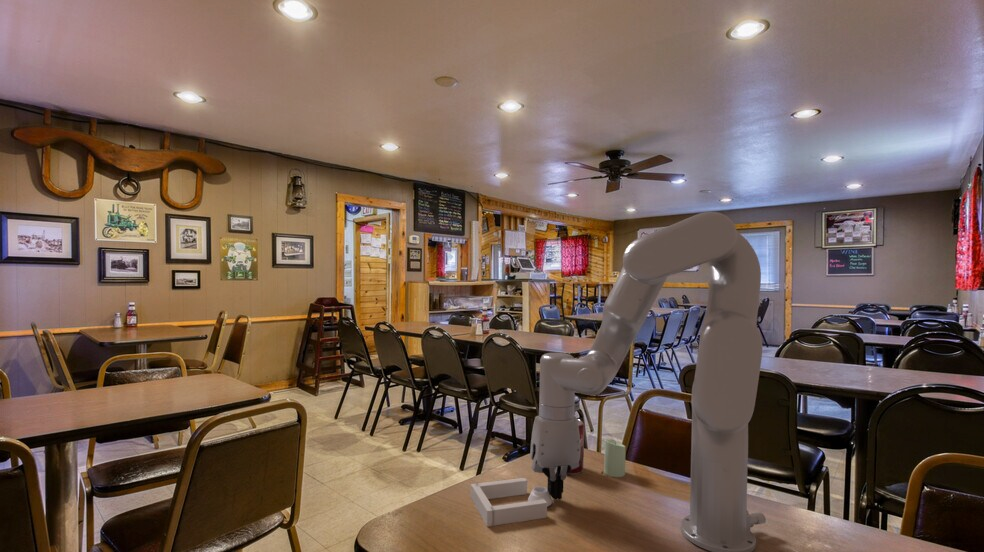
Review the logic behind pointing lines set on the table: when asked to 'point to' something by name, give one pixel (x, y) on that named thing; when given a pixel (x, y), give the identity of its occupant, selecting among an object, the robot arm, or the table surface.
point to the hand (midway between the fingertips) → (555, 496)
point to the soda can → (581, 461)
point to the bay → (508, 511)
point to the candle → (614, 459)
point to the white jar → (540, 495)
